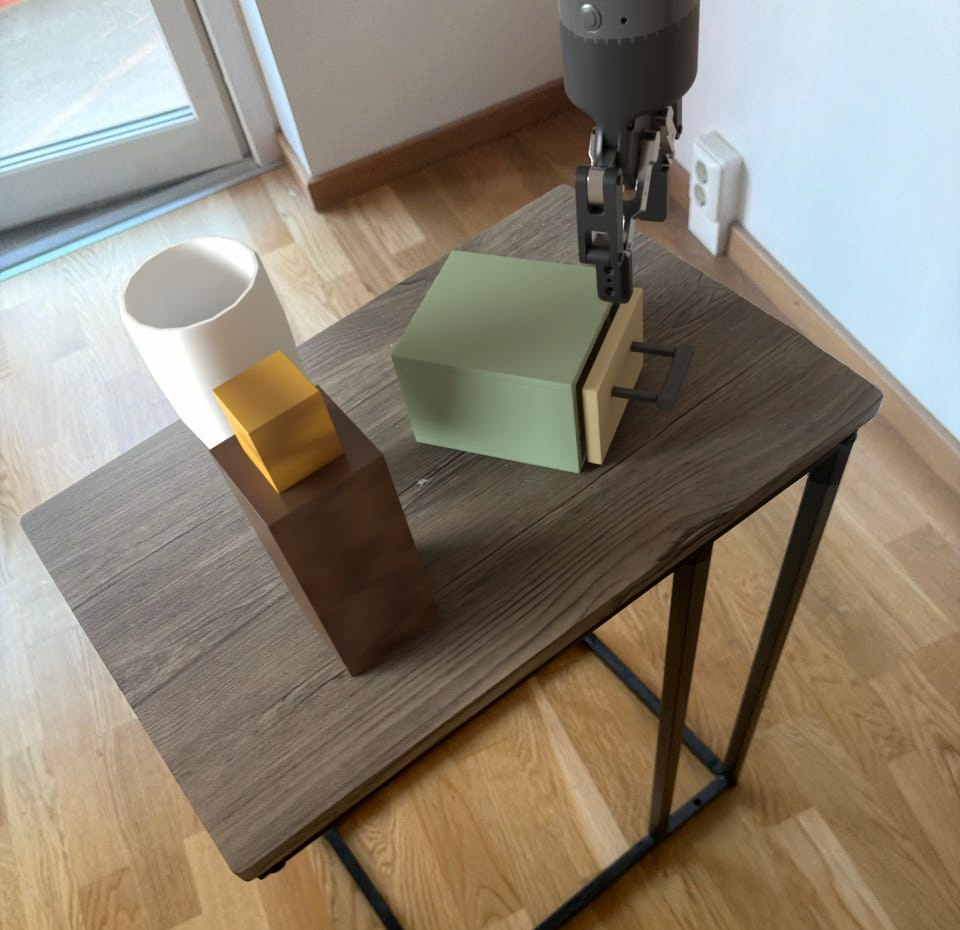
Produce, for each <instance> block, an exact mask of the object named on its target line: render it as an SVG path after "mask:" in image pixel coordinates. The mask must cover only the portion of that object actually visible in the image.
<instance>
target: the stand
mask: <svg viewBox="0 0 960 930" xmlns="http://www.w3.org/2000/svg"><path fill="white" fill-rule="evenodd" d="M314 386H315V387H316V388H317V389H318V390H319V391H320V393H321V396H322V398H323V401H324V403H325V405H326V408H327V410H328V413H329V415H330V418H331V420H332V423H333V425H334V428H335V430H336V433H337V435H338V438H339V440H340V443H341V445H342V448H343V450H344V454H342V455H340V456H339V457H337V458H336V459H334V460H332V461H331V462H329V463H328V464H326V465H324V466H323V467H321V468H320V469H318V470H316V471H315V472H313V473H312V474H310V475H308V476H307V477H305V478H304V479H302V480H300V481H299V482H297V483H296V484H294V485H292V486H291V487H289V488H288V489H286V490H284V491H283V492H281V493H278V492H277V491H276V490H275V488H274V487H273V486H272V485H271V484H270V482H269V481H268V480H267V479H266V477H265V476H264V475H263V474H262V472H261V471H260V470H259V469H258V467H257V466H256V465H255V464H254V462H253V461H252V460H251V459H250V458H249V456H248V455H247V454H246V453H245V451H244V450H243V448H242V446H241V444H240V442H239V441H238V439H237V437H236V435H235V434H234V435H232V436H231V437H229V438H228V439H226V440H224V441H223V442H221V443H219V444H218V445H216V446H214V447H213V448H211V449H210V448H208V453H209V454H210V455H209V456H211V458H212V460H213V462H214V463H215V465H216V467H217V468H218V470H219V472H220V474H221V475H222V477H223V479H224V480H225V482H226V484H227V485H228V487H229V488H230V490H231V492H232V494H233V496H234V498H235V499H236V501H237V503H238V505H239V506H240V508H241V509H242V511H243V513H244V515H245V517H246V518H247V520H248V521H249V523H250V525H251V527H252V528H253V531H254V532H255V533H256V535H257V537H258V539H259V540H260V542H261V544H262V546H263V548H264V549H265V550H266V553H267V554H268V556H269V558H270V560H271V561H272V563H273V564H274V566H275V568H276V569H277V572H278V573H279V575H280V577H281V578H282V580H283V583H284V584H285V585H286V586H287V589H288V590H289V592H290V594H291V595H292V597H293V599H294V601H295V603H296V604H297V606H298V607H299V609H300V611H301V612H302V613H303V615H304V616H305V617H306V618H307V620H308V622H309V623H310V624H311V626H312V627H313V628H314V630H315V631H316V632H317V633H318V635H319V636H320V638H321V639H322V640H323V641H324V643H325V644H326V645H327V647H328V648H329V649H330V651H331V653H332V654H333V655H334V656H335V657H336V659H337V661H338V662H339V663H340V664H341V665H342V667H343V668H344V669H345V671H346V672H347V673H348V675H349V676H350V677H351V678H354V677H355V676H357V675H358V674H360V673H362V672H363V671H364V670H366V669H367V668H369V667H370V666H372V665H373V664H374V663H376V662H378V661H379V660H381V659H382V658H384V657H385V656H386V655H388V654H390V653H391V652H392V651H394V650H396V649H397V648H399V647H400V646H401V645H403V644H404V643H405V642H407V641H409V640H410V639H412V638H413V637H414V636H416V635H417V634H419V633H420V632H422V631H423V630H425V629H426V628H428V627H429V626H431V625H432V624H434V623H435V622H436V621H438V620H440V619H441V614H440V611H439V608H438V606H437V603H436V600H435V597H434V594H433V591H432V588H431V585H430V583H429V580H428V576H427V575H426V572H425V568H424V566H423V563H422V560H421V557H420V554H419V551H418V549H417V546H416V543H415V541H414V537H413V535H412V531H411V529H410V526H409V523H408V519H407V517H406V515H405V512H404V509H403V506H402V503H401V500H400V497H399V494H398V491H397V489H396V486H395V483H394V480H393V478H392V474H391V471H390V469H389V467H388V464H387V460H386V457H385V454H384V453H383V452H382V451H381V450H380V449H379V448H378V447H377V445H375V444H374V442H372V440H370V438H369V437H368V436H367V434H366V433H364V432H363V431H362V429H361V428H359V427H358V426H357V424H356V423H355V422H354V421H353V420H352V419H351V418H350V417H349V415H347V414H346V413H345V412H344V410H343V409H341V407H340V406H339V405H338V404H337V403H336V402H335V401H334V400H333V399H332V398H331V397H330V396H329V395H328V394H327V392H326V391H324V389H322V387H321V386H320V385H319V384H316V385H314Z"/></svg>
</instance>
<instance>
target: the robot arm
mask: <svg viewBox="0 0 960 930" xmlns="http://www.w3.org/2000/svg"><path fill="white" fill-rule="evenodd" d="M556 3H557V17H558V27H559V28H558V29H559V39H560V40H559V41H560V52H561V53H560V54H561V64H562V76H563V86H564V91H565V94H566V97H567V98H568V99H569V101H570V102H571V103H572V105H574V106H575V107H576V108H577V109H579V110H580V111H582V112H584V113H585V114H586V115H587V116H589V118H591V120H593V122H594V123H595V125H596V126H594V127H593V128H592V130H591V133H590V140H589V146H588V147H589V148H588V156H589V158H590V160H591V164H590V165H587V164H577V166H576V169H575V171H574V175H573V181H574V197H575V198H574V199H575V213H576V228H577V231H576V233H577V249H578V262H579V263H580V264H583V265H590V266H591V265H592V266H595V268H596V279H597V294H598V297H599V299H600V300H602V301H605V302H613V303H621V304H626V303H628V302H629V301H630V299H631V296H632V294H633V287H634V274H633V273H634V272H633V269H634V268H633V249H634V237H635V230H636V222H637V219H638V220H639V221H644V222H653V223H664V222H665V221H666V219H667V218H668V215H669V213H670V185H671V184H670V178H671V177H670V173H671V172H670V170H671V165H672V164H673V161H674V159H675V157H676V150H675V141H676V140H677V141H678V140H679V139H680V138H681V135H682V134H683V131H684V126H683V97H684V96H685V95H686V94H687V93H688V92H689V91H690V90H691V88H692V86H693V85H694V83H695V81H696V79H697V76H698V75H697V74H698V69H699V44H700V18H701V17H700V16H701V14H700V13H701V0H556ZM625 191H634V194H633V196H632V197H631V198H630V199H628V200H624V198H623V197H624V195H623V194H624V193H625Z"/></svg>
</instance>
